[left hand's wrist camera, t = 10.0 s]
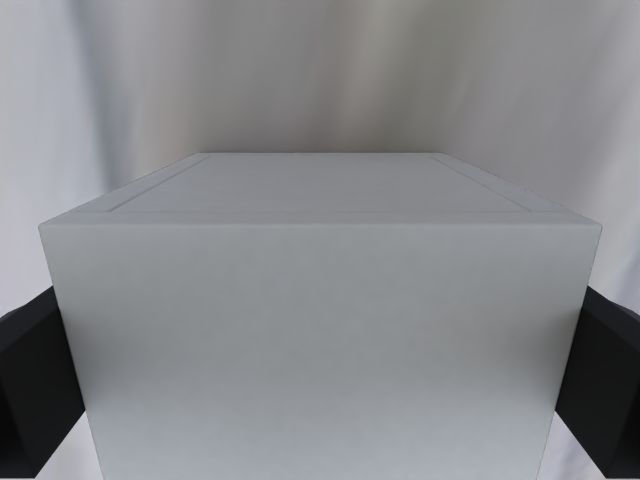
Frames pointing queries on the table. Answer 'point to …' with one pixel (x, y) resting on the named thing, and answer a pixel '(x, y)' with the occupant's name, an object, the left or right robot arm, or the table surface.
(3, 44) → the table surface
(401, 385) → the grey box
